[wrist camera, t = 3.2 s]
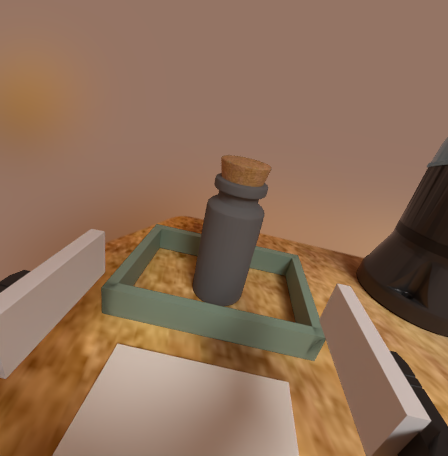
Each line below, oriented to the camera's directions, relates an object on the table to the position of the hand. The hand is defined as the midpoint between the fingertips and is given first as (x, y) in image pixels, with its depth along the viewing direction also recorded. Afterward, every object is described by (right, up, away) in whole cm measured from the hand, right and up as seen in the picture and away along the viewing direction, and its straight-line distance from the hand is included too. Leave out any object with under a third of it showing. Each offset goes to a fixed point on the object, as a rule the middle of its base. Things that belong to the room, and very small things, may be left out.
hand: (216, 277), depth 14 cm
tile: (-2, -11, +2) cm, 11 cm away
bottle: (0, -5, +15) cm, 16 cm away
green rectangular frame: (0, -4, +15) cm, 16 cm away
